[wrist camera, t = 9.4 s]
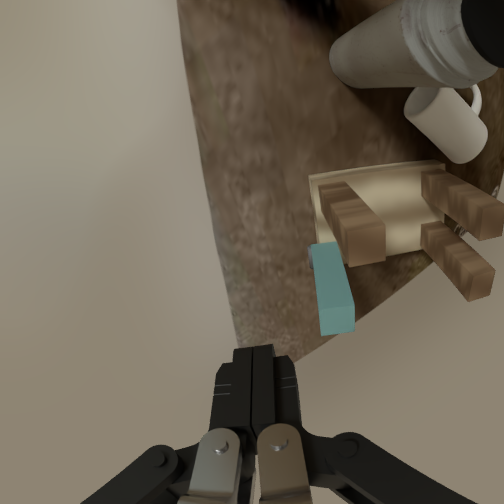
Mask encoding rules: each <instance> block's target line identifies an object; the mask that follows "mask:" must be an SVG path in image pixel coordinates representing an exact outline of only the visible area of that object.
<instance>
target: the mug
mask: <svg viewBox="0 0 504 504" xmlns="http://www.w3.org/2000/svg"><path fill="white" fill-rule="evenodd" d="M470 88H471V89H472V91H473V94H474V100H473V103H472V106H471V108H470V107H469V105H468V104H467V103H466V102H465V101H464V100H463V99H462V98H461V97H460V95H459V94H458V93H457V92H456V91H455V90H454V89H453V88H439V87H415V89H414V90H413V91H412V92H411V94H410V95H409V97H408V99H407V101H406V103H405V106H404V115H405V117H406V118H407V119H408V120H409V121H410V122H411V123H412V124H414V125H415V126H416V127H417V128H418V129H419V130H420V131H421V132H422V133H423V134H424V135H425V136H427V137H428V138H429V139H430V140H431V141H432V142H433V143H434V144H435V145H436V146H437V147H438V148H439V149H440V150H441V151H442V152H443V153H444V154H445V155H446V156H447V157H448V158H449V159H450V160H451V161H452V162H454V163H457V164H462V163H466V162H469V161H470V160H472V159H474V158H475V157H476V156H477V155H478V154H479V153H480V152H481V151H482V149H483V148H484V146H485V144H486V141H487V136H488V132H487V128H486V126H485V124H484V123H483V122H482V121H481V120H480V118H479V117H478V115H479V112H480V109H481V104H482V99H481V93H480V90H479V88H478V86H477V85H476V84H475V85H473V86H471V87H470Z"/></svg>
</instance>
